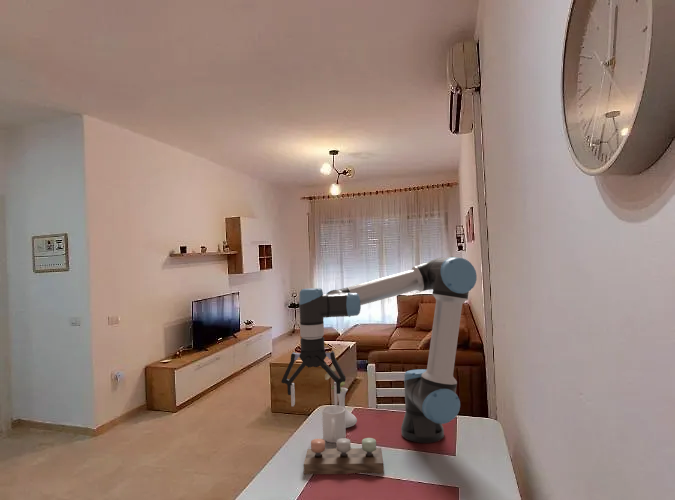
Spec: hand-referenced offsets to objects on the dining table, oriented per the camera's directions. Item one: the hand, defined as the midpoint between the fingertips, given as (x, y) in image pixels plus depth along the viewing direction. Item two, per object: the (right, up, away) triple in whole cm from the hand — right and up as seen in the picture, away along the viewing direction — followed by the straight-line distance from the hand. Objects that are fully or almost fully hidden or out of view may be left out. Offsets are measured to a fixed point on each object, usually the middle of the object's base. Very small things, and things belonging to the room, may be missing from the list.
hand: (314, 404), depth 129 cm
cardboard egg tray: (+9, -19, -2) cm, 21 cm away
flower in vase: (+9, -20, +30) cm, 37 cm away
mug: (+6, -19, +17) cm, 26 cm away
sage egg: (+17, -15, -2) cm, 23 cm away
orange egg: (+1, -15, -1) cm, 16 cm away
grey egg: (+9, -15, -2) cm, 18 cm away
